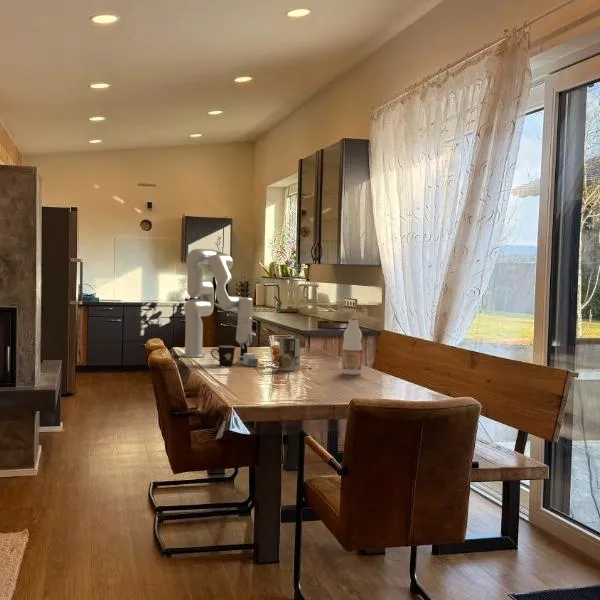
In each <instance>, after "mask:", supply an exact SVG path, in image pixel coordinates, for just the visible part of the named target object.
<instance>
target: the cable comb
mask: <svg viewBox="0 0 600 600" xmlns="http://www.w3.org/2000/svg"><path fill="white" fill-rule="evenodd" d="M236 357H237V360H235V364H242V363H241V362H243V361H241V360H240V357H241V356H239V355H238V356H236Z"/></svg>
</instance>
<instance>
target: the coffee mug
mask: <svg viewBox="0 0 600 600" xmlns="http://www.w3.org/2000/svg"><path fill="white" fill-rule="evenodd" d="M235 350H236V346H234V345H218V349H216V348H213V349H212V350H211V351H210V354H211V356H212V358H214V359H215V360H217V361H218V362H219V367H221V366H223V367H222V368H231V366H232V367H233V365H234V358H235V353H236V352H235ZM213 351H217V353H218V358H217V357H216V356H215V355H213Z"/></svg>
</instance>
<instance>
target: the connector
mask: <svg viewBox="0 0 600 600" xmlns="http://www.w3.org/2000/svg"><path fill="white" fill-rule="evenodd" d="M253 361H256V362H253ZM253 363H254V364H253ZM255 363H256V364H255ZM249 366H259V359H258V358H256V357H255V358H250V359H249V365H248V367H249Z"/></svg>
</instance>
